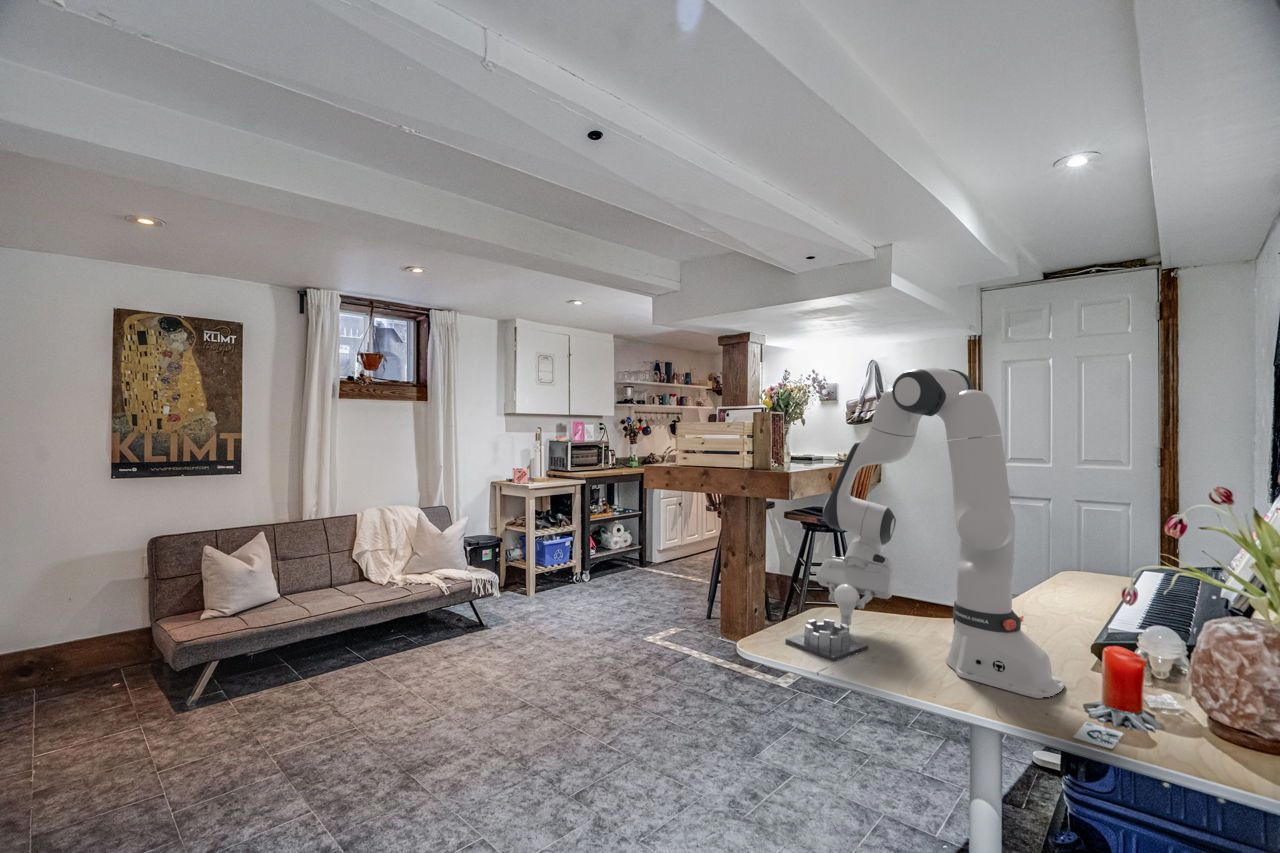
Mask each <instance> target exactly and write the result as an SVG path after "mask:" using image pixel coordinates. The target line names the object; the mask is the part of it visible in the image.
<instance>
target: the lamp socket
mask: <svg viewBox="0 0 1280 853" xmlns="http://www.w3.org/2000/svg"><path fill="white" fill-rule="evenodd" d="M835 623H836V622H835V620H833V619H828V618H824V619H823V622H818V620H817V619H814V618H812V619H811V618H810V619H808V620H806V624H804V632H803V633H800V634H797V635H794V636H790V637H787V638H785V643H786V644H787V645H790V646H792V645H793V646H792V647H795V648H797V649H800V650H802V651H804V652H807V653H810V654H813V655H815V656H817V657H820V658H822V659H825V660H828V661H830V662H832V661H833V663H834V661H835V662H837V660H838V661H841V660H843V659H846V658H848V656H849V657H851V656H854V655H856V653H857V654H859V653H860V654H861V652H864V651H867V650H869V644H866V643H863V642H860V641H857V640H854V639H852V638H850V635H851V634H850V633H851V632H850V627H849V626H847V625H846V624H841V623H839V625H838V624H835Z"/></svg>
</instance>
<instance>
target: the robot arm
mask: <svg viewBox="0 0 1280 853" xmlns="http://www.w3.org/2000/svg"><path fill="white" fill-rule="evenodd" d="M935 415H936V416H938V417H939V418H940V419H941V420H942V421H943V423H944V426H945V433H946V434H945V435H946V441H947V449H948V454H949V455H948V456H949V464H950V470H951V481H952V494H953V495H952V496H953V497H952V498H953V507H954V508H953V509H954V518H955V526H956V528H955V529H956V532H957V534H958V536H959V546H958V548H959V549H958V556H957V557H958V559H957V566H956V567H957V568H956V590H955V591H956V595H955V596H956V598H955V601H954V602H953V612H952V618H953V620H952V621H953V625H954V627H953V632H952V633H953V634H952V640H951V643H950V647H949V652H948V654H947V657H946V659H945V660H946V661H945V662H946V664H947V665H948V666H949V667H950V668H952V669H953V670H954V672H956V675H957V676H958V677H960V678H963V679H965V680H970V681H973V682H977V683H979V684H980V683H981V684H983V685H988V686H991V687H995V688H998V689H1001V690H1005V691H1008V692H1012V693H1016V694H1019V695H1022V696H1026V697H1029V698H1034V699H1044V698H1043V697H1049V698H1051V697H1050V696H1053V695H1055V694H1057V693H1059V692H1060V691H1061V690H1062V689H1063V688H1064V689H1065V683H1064V680H1063V679H1062V678H1061V677H1059V676H1057V675H1054V674H1053V672H1052V665H1051V660H1050V657H1049V655H1048V653H1047V652H1046V651H1045V650H1044V649H1042V647H1040V646H1039V645H1038V644H1036V642H1034V640H1032V639H1031V637H1029V636H1028V635H1027V634H1026V633H1025V632H1024V631H1022V629H1021V628H1022V622H1024V615H1021V616H1018V615H1017V613H1015V611H1014V610H1013V609H1012V608H1013V581H1014V560H1015V559H1014V558H1015V557H1014V556H1015V555H1014V554H1015V537H1016V532H1015V530H1016V516H1015V513H1014V511H1013V509H1012V504H1011V497H1010V496H1011V495H1010V488H1009V486H1010V485H1009V479H1008V470H1007V464H1006V457H1005V451H1004V450H1005V448H1004V443H1003V442H1004V441H1003V436H1002V429H1001V425H1000V421H999V417H998V413H997V410H996V407H995V405H994V402H993V400H992V397H991V396H990V395H989V394H988V393H987V392H984V391H982V390H979V389H975V385H974V382H973V381H972V379H971V378H970V377H969V376H968V375H967V374H966V373H964V372H962V371H959V370H955V369H953V368H952V369H950V368H949V369H945V368H944V369H943V368H939V367H927V368H926V367H925V368H914V369H913V368H912V369H909V370H906V371H905V372H902V373H901V374H900V375H898V377H896V379H895V380H894V382H893V385H892V387H891V388H889V389H887V390H885V391H884V392H883V393H882V394H881V397H880V398H879V400H878V403H877V405H876V408H875V411H874V413H873V417H872V421H871V425H870V429H869V430H868V433H867V434H866V436H865V437H864V438H862V439H861V440H857V441H856V442H855V443H854V444H853V446H851V448H850V451H849V452H848V455H847V456H846V457H845V461H844V463H843V465H842V467H841V469H840V472H839V474H838V477H837V480H836V482H835V484H834V487H833V489H832V491H831V493H830V495H829V497H828V498H827V500H826V501H825V504H824V506H823V508H822V518H823V519H824V522H825V524H826V525H828V527H829V528H832V529H836V530H839V531H846V532H849V533H852V534H853V536H852V537H853V538H852V540H851V541H850V543H849V545H848V548H847V550H846V552H845V555H844V557H843V556H842V557H841V556H835V555H830V556H827V557H825V558H824V559H823V561H822V564H821V565H820V567H819V569H818V570H817V573H816V575H815V577H816V581H817V582H818V584H819V585H820V586H822V587H827V588H828V592H829V595H828V600H829V602H831V603H836V601H835V599H834V592H835V589H836V588H837V587H838V586H839V585H842V584H849V585H852V586H853V587H855V588H856V590H857V591H858V593H859V595H860V594H861V595H864V596H863V597H862V598H861V599H860V598H859V599H858V600H857V603H856V608H859V609H861V610H862V609H863V610H864V609H865V607H866V604H867V603H869V602H870V601H871V600H872V599H873V597H874V598H880V599H885V600H888V599H890V598H892V597H893V596H892V595H893V593H894V590H895V578H894V577H895V576H896V569H895V567H894V566H893V563H892V561H891V560H890V558H889V557H886V556H884V555H882V553H883V550H884V549H885V547H886V545H887V544H888V543H889V542H891V539H892V537H893V533H894V531H895V527H896V523H897V522H896V520H897V519H896V518H897V517H896V516H895V514H894V513H893V511H892V510H891V508H889V507H888V506H885V505H882V504H879V503H876V502H873V501H868V500H865V499H861V498H857V497H854V496H852V495H851V494H850V491H851V488H852V486H853V484H854V481H855V478H856V476H857V474H858V471H859V470H860V469H861V468H863V467H867V466H871V465H872V466H873V465H874V466H875V465H886V464H892V463H895V462H898V461H901V460H903V459H905V458H906V457H907V456H908V455H909V454H910V452H911V450H912V448H913V446H914V444H915V438H916V435H917V430H918V427H919V422H920V421H921V418H922V417H923V416H927V417H934V416H935ZM1059 694H1060V693H1059ZM1055 696H1056V695H1055ZM1053 697H1054V696H1053Z"/></svg>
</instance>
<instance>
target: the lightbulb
mask: <svg viewBox="0 0 1280 853" xmlns="http://www.w3.org/2000/svg"><path fill="white" fill-rule="evenodd" d="M834 599H835V601H836V602H835V603H836V605H837V607H838V609H839V613H840V624H846V625H847V626H848V627H849V626H851V625H852V615H853V613H854V610H855V608H856V607H857V605H856V603H857V600H858V599H860V593H858V591H857V590H856V588H855V587H853V586H852V585H849V584H842V585H839V586H838V587H837V588H836V589H835V591H834Z"/></svg>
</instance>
